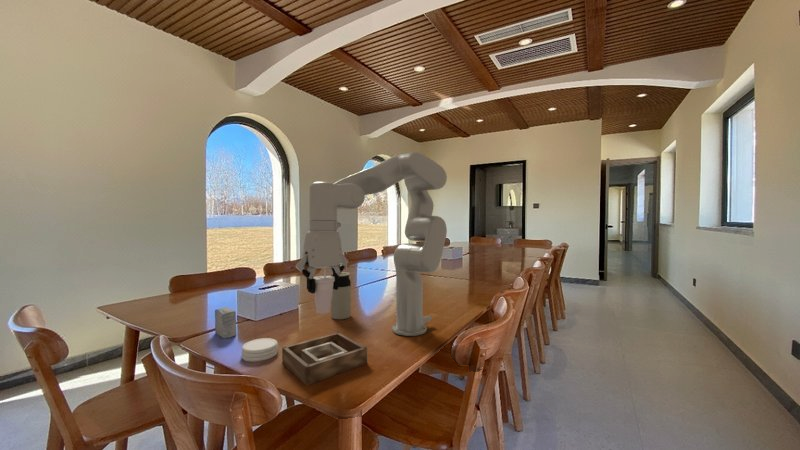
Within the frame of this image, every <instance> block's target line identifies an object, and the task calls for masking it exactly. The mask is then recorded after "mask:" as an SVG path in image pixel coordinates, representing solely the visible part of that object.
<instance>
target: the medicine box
mask: <svg viewBox="0 0 800 450" xmlns="http://www.w3.org/2000/svg"><path fill="white" fill-rule="evenodd" d="M236 314H237V313H236V311H235V310H234V309H232V308H230V307H228V306H226V307H222V308H221V307H220V308H217V309H214V327H215V328H214V330H215V331H214V332H215V334H216V335H218V336H219V337H221V338H222V339H228V338H231V337H235V336H237V317H236V316H237V315H236Z"/></svg>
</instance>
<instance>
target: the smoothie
mask: <svg viewBox="0 0 800 450" xmlns="http://www.w3.org/2000/svg"><path fill="white" fill-rule="evenodd" d="M313 278H314V279H315V293H313V295H314V302H315V303H314V304H315V311H316V314H318V315H320V314H321V315H323V314H325V315H326V314H329V313H331V299H332V292H333V284H334V281H335V277H333V276H331V275H327V267H326V268H323V275H317V276H314V277H313Z"/></svg>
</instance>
